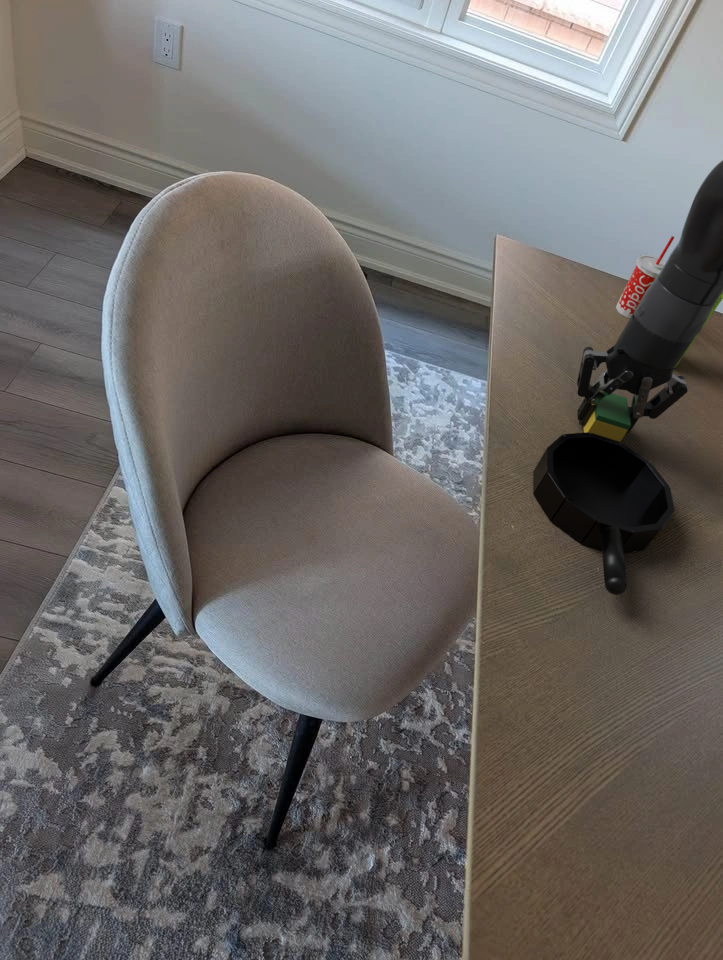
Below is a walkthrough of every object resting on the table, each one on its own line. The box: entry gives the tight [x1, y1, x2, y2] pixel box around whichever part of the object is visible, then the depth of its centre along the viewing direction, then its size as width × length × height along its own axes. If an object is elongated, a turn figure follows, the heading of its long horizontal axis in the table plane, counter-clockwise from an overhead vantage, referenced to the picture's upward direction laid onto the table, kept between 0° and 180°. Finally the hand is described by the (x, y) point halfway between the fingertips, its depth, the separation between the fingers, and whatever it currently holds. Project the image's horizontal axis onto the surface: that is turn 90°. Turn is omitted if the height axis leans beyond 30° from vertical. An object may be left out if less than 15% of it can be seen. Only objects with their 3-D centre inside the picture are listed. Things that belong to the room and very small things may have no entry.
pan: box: [532, 432, 675, 596], centre depth 86 cm, size 24×16×4 cm, turn 170°
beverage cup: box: [615, 235, 675, 320], centre depth 122 cm, size 6×6×14 cm
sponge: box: [582, 392, 631, 442], centre depth 99 cm, size 6×4×4 cm
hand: (599, 426), depth 100 cm, fingers closed on sponge, 4 cm apart
